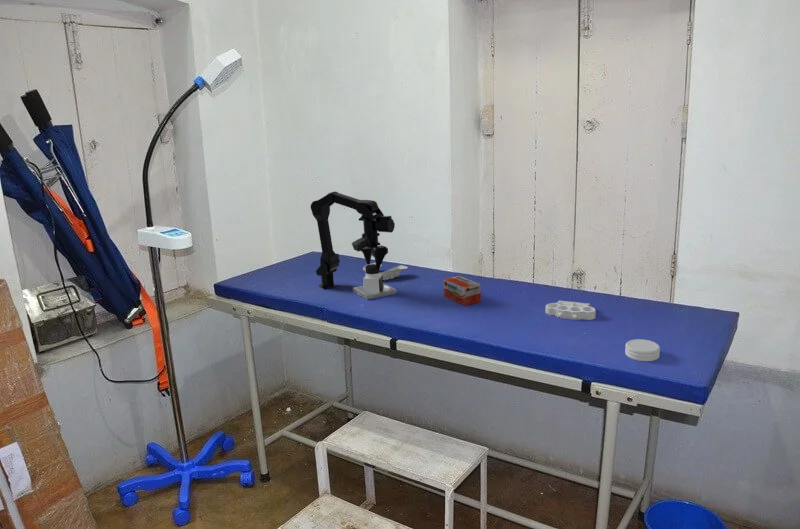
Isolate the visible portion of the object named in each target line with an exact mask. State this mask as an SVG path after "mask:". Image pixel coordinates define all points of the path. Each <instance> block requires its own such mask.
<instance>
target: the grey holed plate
mask: <svg viewBox="0 0 800 529" xmlns="http://www.w3.org/2000/svg"><path fill="white" fill-rule="evenodd" d="M596 311H597V310H596V308H594V306H593V307H592V306H591V303H589V302H588V303H586V302H576V301H566V300H562V299H561V300H558V301H557V302H551V303H547V304H545V314H546V313H547V314H549V315H548V316H551V315H555V316H554V317H556V316H557V318H559V317H560V319H568V320H587V321H591V320H594V319H596ZM547 314H546V315H547Z"/></svg>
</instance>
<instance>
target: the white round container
mask: <svg viewBox="0 0 800 529" xmlns="http://www.w3.org/2000/svg"><path fill="white" fill-rule="evenodd" d="M624 349H625V351H624V355H625V356H626V357H628V358H629V359H632V360H634V361H639V362H653V361H656V360H659V358H660V357H661V356H660V353H661V351H660V350H661V347H660V345H659V344H658V343H657V342H655V341H653V340H649V339H638V338H636V339H630V340H628V341H627V342H626V343H625V348H624Z"/></svg>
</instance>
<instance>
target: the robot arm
mask: <svg viewBox="0 0 800 529" xmlns="http://www.w3.org/2000/svg"><path fill="white" fill-rule="evenodd" d="M334 204H337V205H341V206H344V207H347V208H350V209H353V210H354V211H356V212H357V213H358V214H360V215H361V217H359V218H358V221H359V222H361V221H362V222H363V224H362V225H363V233H362V234H361V237H360V238H358V239H356V240H354V241H352V243H351V246H352V248H353V250H354V251H356V252H362V254H363V257H364V260H365V262H366V265H369V264H371V261H372V260H371V259H372V257H373V258H374V263H376V268H377V269H379V268H380V266H381V264H382V263H383V261H384V260H385V257H386V255H387V254H388V253H389V249H388V247H387V246H385V245H381V242H380V241H379V236H380V234H381V233H393V232H394V231H395V221H394V219H393V217H392V215H385V214H384V213H383V212H382V210H381V209H380V207H379V205H378V203H377V201H376V200H370V199H358V198H356V197H352V196H349V195H346V194H342V193H340V192H338V191H332V192H328V193H327V194H326V195H325V196H322V197H321V198H320V199H316V200H314V201H312V202H311V203H310V210H311V214H312V216H313V218H315V220H316V224H317V229H318V234H319V236H318V237H319V241H320V247H321V255H320V260H319V263H320V265H319V267H318V268H317V269H316V270H315V273H316V275H317V276H319V277H320V282H321V284H318V286H319V287H320V288H321V289H323V290H326V289H327V290H328V289H331V288H336V287H338V284H336V283H335V276H334V273H335V272H337V270H338V268H339V266H340V263H341V261H340V256H339V253H336V252H335V251H334V248H333V241H332V235H331V227H330V224H329V223H330V222H329V217H330V214H331V207H332V206H333V205H334ZM379 232H380V233H379ZM381 267H382V266H381ZM380 269H381V268H380Z"/></svg>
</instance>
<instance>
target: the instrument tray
mask: <svg viewBox="0 0 800 529" xmlns="http://www.w3.org/2000/svg"><path fill="white" fill-rule="evenodd" d="M383 285H384V289H383V291H382V292H379V293H375V294H365V293H364V285H360V286H355V287H352V292H353V293H355V294H356V293H357V295H358V296H359V297H361V296H362V297H361V298H363V299H365V300H366V299H367V301H369V300H373V298H374V299H377V297H378V298H382V296H383V297H386V296H392V295H395V294H397V289H396V288H394V287H392V286H390V285H388V284H387V283H384V282H383ZM368 299H369V300H368Z"/></svg>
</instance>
